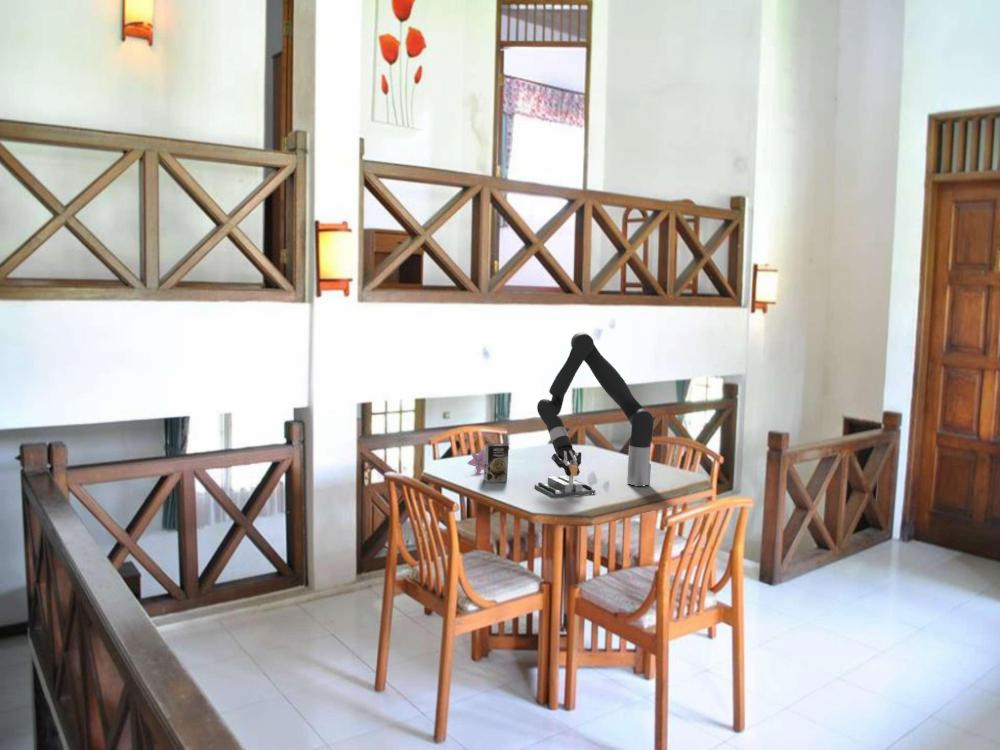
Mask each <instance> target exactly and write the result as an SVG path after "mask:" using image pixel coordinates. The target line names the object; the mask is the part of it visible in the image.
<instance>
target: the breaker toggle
mask: <svg viewBox="0 0 1000 750" xmlns="http://www.w3.org/2000/svg"><path fill="white" fill-rule="evenodd" d="M568 466H569V469H570V471H571V475H570V476H568V478H569V484H571V485H572V490H573V480H574V477H578V476H577V469H578V468H579V467H578V466H576V465H574V464H570V463H568Z"/></svg>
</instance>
